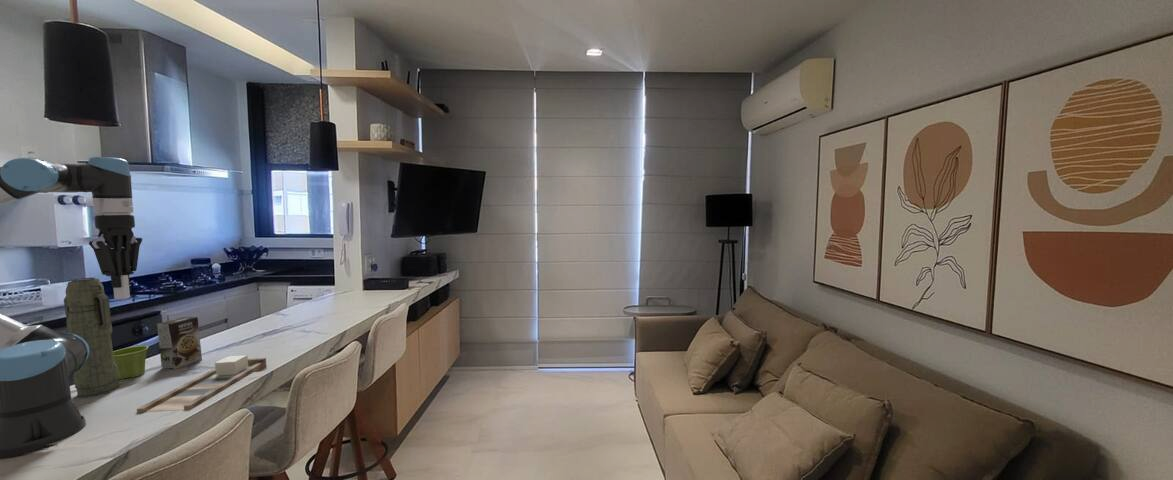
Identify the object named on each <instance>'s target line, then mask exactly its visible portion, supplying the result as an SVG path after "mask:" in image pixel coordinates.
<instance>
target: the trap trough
mask: <svg viewBox="0 0 1173 480" xmlns="http://www.w3.org/2000/svg"><path fill="white" fill-rule="evenodd" d="M267 366H268V365H267V358H266V357H260V358H248V368H246V369H245V370H243V371H241V372H239V373H238V374H233V375H217V376H216V369H215V368H213V369H211V370H209V371H207V372H205V373H203V374H201V375H199V376H197V377H196V378H194V379H192V380H190V381H187V382H186V383H184V384H183V385H180V386H178V387H176V388H174V389H172V390H170V391H169V392H167V393H165V394H163V395H161V396H159V397H157V398H155V399H153V400H152V401H150V402H147V403H146V404H144V405H141V406H139V407H138V408H137V409H136V413H137V414H138V413H139V414H140V413H141V414H142V413H153V412H166V411H167V412H168V411H181V410H182V411H183V410H192V409H193V408H195V407H197V406H198V405H200V404H202V403H203V402H205V401H206V400H208V399H210V398H211V397H213V396H215V395H216V394H218V393H220V392H221V391H223V390H225V389H227V388H228V387H230V386H231V385H233V384H235V383H236V382H238V381H240V380H241V379H243V378H245V377H246V376H248V375H250V374H252V373H257V372H260V371H261V370H263V369H264V368H266V367H267Z"/></svg>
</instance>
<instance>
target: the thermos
mask: <svg viewBox="0 0 1173 480" xmlns="http://www.w3.org/2000/svg"><path fill="white" fill-rule="evenodd" d="M104 288H105V287H104V285H103V283H102V282H101V279H99V278H96V277H83V278H76V279H72V280H70V281H68V282H67V284H66V288H65V297H64V298H63V304H64V305H63V306H64V311H65V319H66V327H67V328H66V329H67V333H72V334H76V335H78V336H80V337H82V338H83V339H84V340H85V341H86V342H87V344H88V346H89V356H88V358H87V360H86V362H85V364H84V365H83V367H82V368H80V369H79V370H78V371H77V372H76V373H74V374H73V382H74V388H75V389H76V395H77V397H78V398H90V397H89V396H91V397H96V396H99V395H104V394H108V393H110V392H113V391H115V390H118V388H119V387H120V384H119V375H118V367H117V365H116V363H115V362H114V357H113V352H114V350H113V343H112V333H113V325H112V324H113V323H112V319H111V318H112V317H111V308H110V298H109V296H108V295H107V294H106V293H105V289H104Z"/></svg>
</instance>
